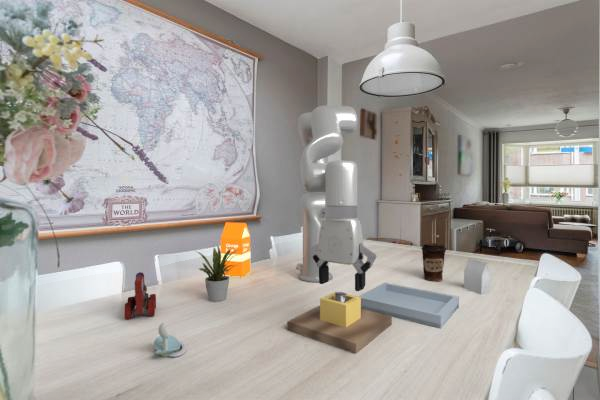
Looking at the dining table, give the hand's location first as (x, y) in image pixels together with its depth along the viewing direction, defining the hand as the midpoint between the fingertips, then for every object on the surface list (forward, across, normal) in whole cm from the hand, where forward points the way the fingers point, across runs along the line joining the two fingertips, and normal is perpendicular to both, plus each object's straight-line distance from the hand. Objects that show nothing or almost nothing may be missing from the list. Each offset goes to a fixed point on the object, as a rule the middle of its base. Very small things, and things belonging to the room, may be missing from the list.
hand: (341, 286), depth 77 cm
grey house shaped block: (+10, +19, +53) cm, 57 cm away
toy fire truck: (+10, -47, -24) cm, 54 cm away
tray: (+10, +7, +24) cm, 27 cm away
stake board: (+10, -1, +1) cm, 10 cm away
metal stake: (+8, -1, +1) cm, 8 cm away
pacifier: (+11, -21, -31) cm, 39 cm away
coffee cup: (+9, +4, +58) cm, 59 cm away
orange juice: (+9, -58, +18) cm, 61 cm away
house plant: (+10, -39, -4) cm, 40 cm away
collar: (+8, 0, +1) cm, 8 cm away
